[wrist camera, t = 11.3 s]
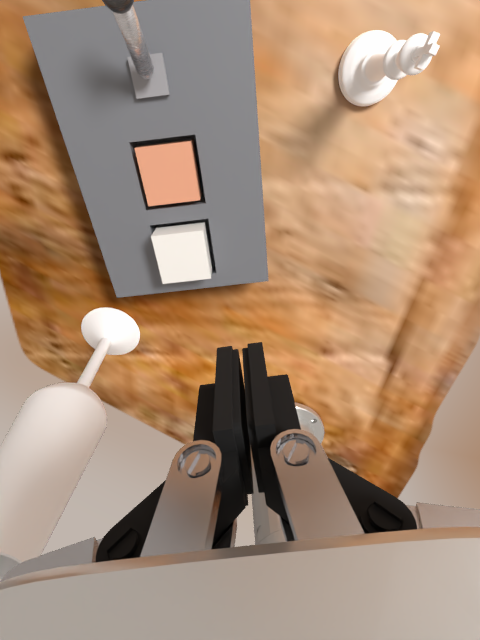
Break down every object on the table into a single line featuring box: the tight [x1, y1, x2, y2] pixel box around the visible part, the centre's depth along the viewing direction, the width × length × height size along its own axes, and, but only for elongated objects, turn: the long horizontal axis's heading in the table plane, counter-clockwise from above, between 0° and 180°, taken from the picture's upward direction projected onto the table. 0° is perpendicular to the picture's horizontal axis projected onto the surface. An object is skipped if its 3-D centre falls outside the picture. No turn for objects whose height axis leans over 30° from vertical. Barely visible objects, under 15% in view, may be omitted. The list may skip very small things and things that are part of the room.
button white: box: [151, 222, 212, 284], centre depth 30 cm, size 4×4×2 cm
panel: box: [23, 0, 268, 298], centre depth 29 cm, size 21×15×4 cm
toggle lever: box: [102, 0, 154, 79], centre depth 20 cm, size 2×2×6 cm
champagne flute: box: [0, 308, 140, 580], centre depth 29 cm, size 7×7×24 cm
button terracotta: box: [134, 139, 202, 206], centre depth 28 cm, size 4×4×2 cm
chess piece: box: [338, 30, 440, 106], centre depth 23 cm, size 5×5×10 cm
